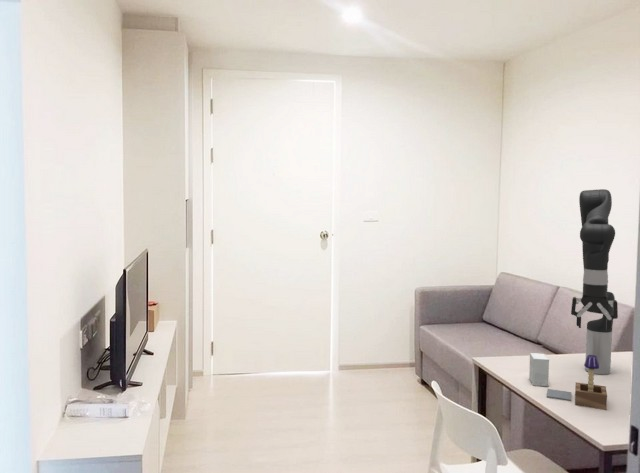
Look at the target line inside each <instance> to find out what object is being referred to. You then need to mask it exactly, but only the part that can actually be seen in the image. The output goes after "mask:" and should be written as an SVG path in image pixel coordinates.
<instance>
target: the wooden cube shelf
mask: <svg viewBox="0 0 640 473" xmlns="http://www.w3.org/2000/svg"><path fill="white" fill-rule="evenodd" d="M588 385H589V384H588V383H584V382H583V383H582V382H578V381H577V382H575V389H574V406H578V407H585V408H593V409H598V410H604V411H607V406H608V405H607V404H608V392H607V386H606V385H599V384H598V385H597V384H593V386H594V388H593V392H589V391H588Z"/></svg>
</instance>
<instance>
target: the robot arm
mask: <svg viewBox="0 0 640 473" xmlns="http://www.w3.org/2000/svg"><path fill="white" fill-rule="evenodd" d="M578 197H579V200H578V201H579V211H580V221H581V228H580V231H579V239H580V240H581V243H582V244H581V245H582V260H583V261H582V263H583V277H582V278H583V279H582V295H581V296H582V297H581V298H580V297H576V296H573V297H572V302H571V310H570V315H572V316H575V317H576V327H578V329H581V328H582V316H583V315H584V314H585V313H586V312H587V313H588V312H589V313H593V314H601V315H602V317H600V318H598V319H593V320H590V321H587V323H586V339H585V340H586V342H585V361H586V358H587V355H595V356H597V359H598V363H599V368H598V369H594V375H609V374H611V363H612V339H613V338H612V337H613V325H614V320H617V319H618V318H619V316H618V313H619V312H618V310H619V309H618V301H617V300H616V298H615V294H614V293H613V292H611V291H608V286H609V285H608V283H609V274H608V273H609V272H608V265H609V260H610V259H609V258H610V255H609V254H610V250H611V248H612V245H613V243H614V240H615V237H616V229H615V228H614V226H613V225H612V224H609V217H610V213H611V211H612V205H613V203H612V202H613V201H612V200H613V199H612V194H611V192H610V190H608V189H601V188H600V189H588V190H587V189H586V190H585V189H584V190H582V191H581V192H580V193H579V196H578ZM580 302H581V304H582V307H581V308H580V309H579V310H578V311H576V309H577V308H576V307H577V306H576V305H578V304H579V303H580ZM584 369H585V371H586V372H587V373H589V368H586V367H585V366H584Z"/></svg>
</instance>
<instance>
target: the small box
mask: <svg viewBox="0 0 640 473" xmlns="http://www.w3.org/2000/svg"><path fill="white" fill-rule="evenodd" d="M549 369H550V359H549V358H548V357H547V355H546V353H538V352H537V353H536V352H533V353H532V352H529V372H528V373H529V374H528V377H529V381H530V383H531V384H532V386H535V387H536V386H537V387H538V386H539V387H549V379H550V378H549V374H550V372H549Z"/></svg>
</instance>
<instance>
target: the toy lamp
mask: <svg viewBox="0 0 640 473" xmlns="http://www.w3.org/2000/svg"><path fill="white" fill-rule="evenodd" d="M585 360H586V361H585V362H584V364H583V365H584V368H585V367H586V368H589V372H587V373H588V377H587V380H588V381H587V384H589V385H588V391H589V392H593V388H594V386H593V385H595V384H594V383H595V382H594V379H595V378H594V376H595V374H594V369H598V368H599V363H598V359H597V356H595V355H587V358H586V357H585Z"/></svg>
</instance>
